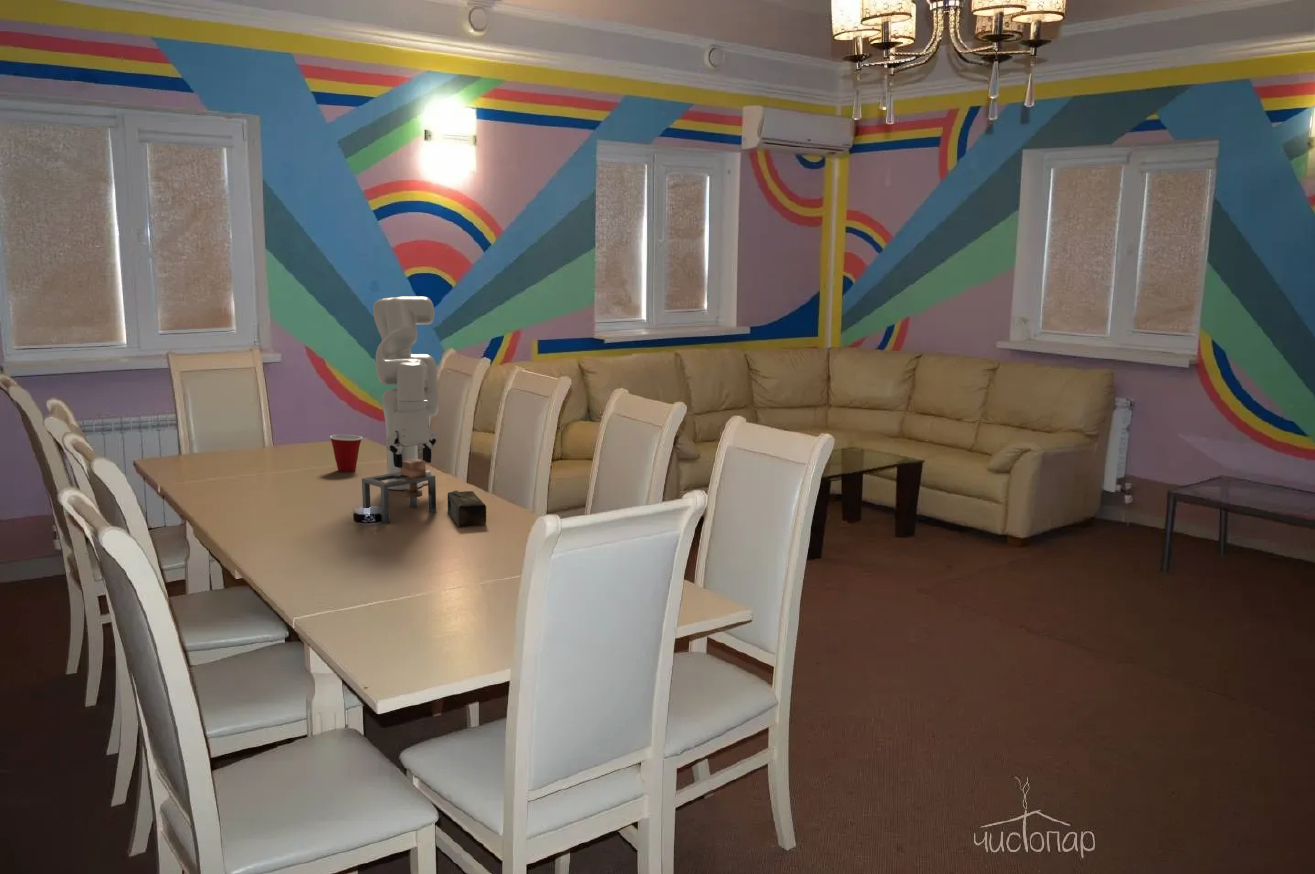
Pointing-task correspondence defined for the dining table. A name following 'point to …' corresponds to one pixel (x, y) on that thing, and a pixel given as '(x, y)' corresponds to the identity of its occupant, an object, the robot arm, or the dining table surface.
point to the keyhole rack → (405, 480)
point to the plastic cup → (346, 451)
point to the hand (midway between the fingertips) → (412, 464)
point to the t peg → (413, 474)
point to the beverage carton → (466, 509)
